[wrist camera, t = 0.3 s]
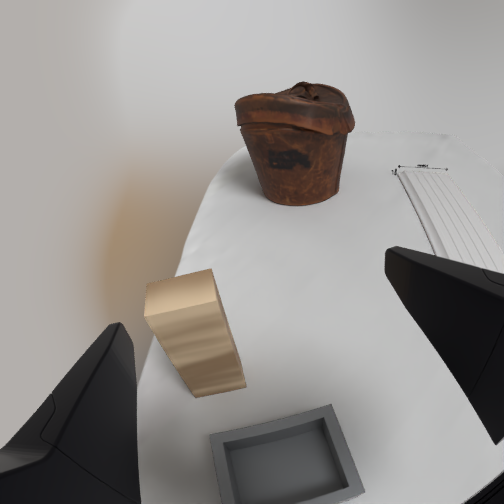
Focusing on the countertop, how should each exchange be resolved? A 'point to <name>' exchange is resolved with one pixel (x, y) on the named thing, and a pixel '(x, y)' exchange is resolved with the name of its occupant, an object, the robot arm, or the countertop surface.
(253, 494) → the end cap
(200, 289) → the slat
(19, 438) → the robot arm
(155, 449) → the countertop surface
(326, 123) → the brown tapered cylinder
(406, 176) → the baseboard
